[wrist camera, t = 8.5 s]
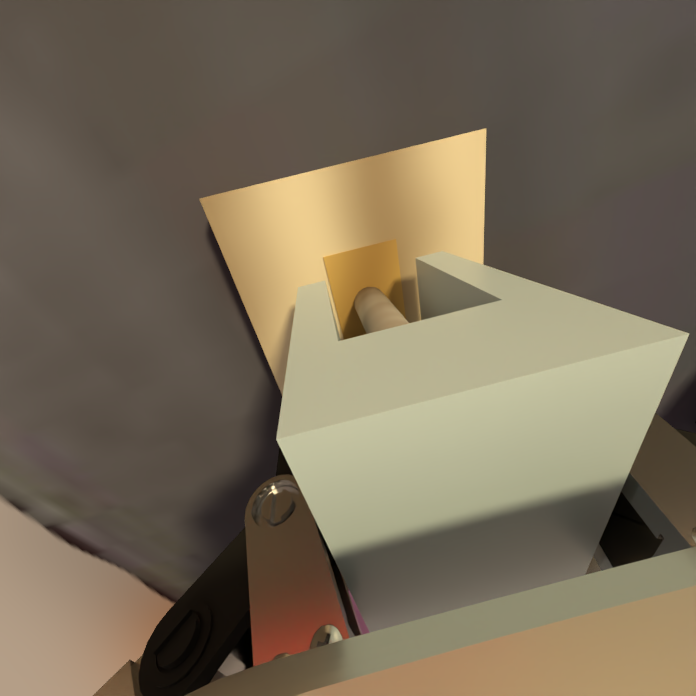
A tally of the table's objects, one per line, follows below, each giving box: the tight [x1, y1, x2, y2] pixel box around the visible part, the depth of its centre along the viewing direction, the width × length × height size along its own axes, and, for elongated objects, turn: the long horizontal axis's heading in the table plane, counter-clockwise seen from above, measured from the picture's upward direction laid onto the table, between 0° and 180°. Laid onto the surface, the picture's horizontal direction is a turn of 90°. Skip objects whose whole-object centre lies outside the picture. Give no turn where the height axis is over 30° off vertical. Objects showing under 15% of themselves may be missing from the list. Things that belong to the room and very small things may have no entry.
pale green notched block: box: [276, 251, 689, 632], centre depth 8 cm, size 5×8×6 cm, turn 13°
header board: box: [200, 129, 486, 396], centre depth 12 cm, size 9×20×5 cm, turn 12°
